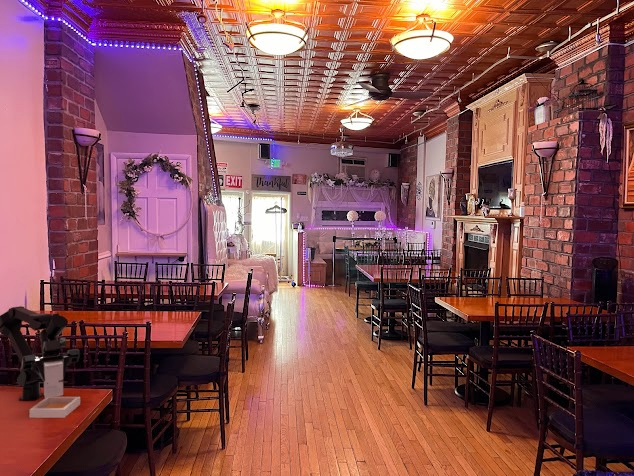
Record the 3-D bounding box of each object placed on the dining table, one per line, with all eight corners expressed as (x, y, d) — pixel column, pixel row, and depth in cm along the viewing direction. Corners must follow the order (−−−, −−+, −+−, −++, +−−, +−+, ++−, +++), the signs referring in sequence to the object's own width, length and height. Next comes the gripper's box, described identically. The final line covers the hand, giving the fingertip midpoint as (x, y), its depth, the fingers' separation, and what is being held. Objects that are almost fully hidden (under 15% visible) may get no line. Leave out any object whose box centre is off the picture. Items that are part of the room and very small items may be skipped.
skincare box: (45, 399, 170) (44, 366, 169) (43, 395, 173) (42, 362, 173) (64, 395, 173) (63, 363, 172) (62, 391, 177) (61, 359, 176)
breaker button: (50, 406, 180) (50, 403, 180) (70, 406, 180) (70, 403, 180) (39, 414, 172) (39, 411, 172) (61, 414, 172) (61, 411, 172)
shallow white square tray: (47, 404, 182) (47, 396, 182) (80, 404, 183) (80, 396, 182) (29, 417, 170) (29, 409, 169) (64, 417, 170) (64, 409, 170)
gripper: (22, 334, 169) (26, 372, 161) (79, 328, 181) (85, 363, 172) (20, 350, 176) (23, 388, 168) (75, 343, 187) (80, 378, 179)
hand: (54, 379), depth 171 cm, fingers closed on skincare box, 6 cm apart
